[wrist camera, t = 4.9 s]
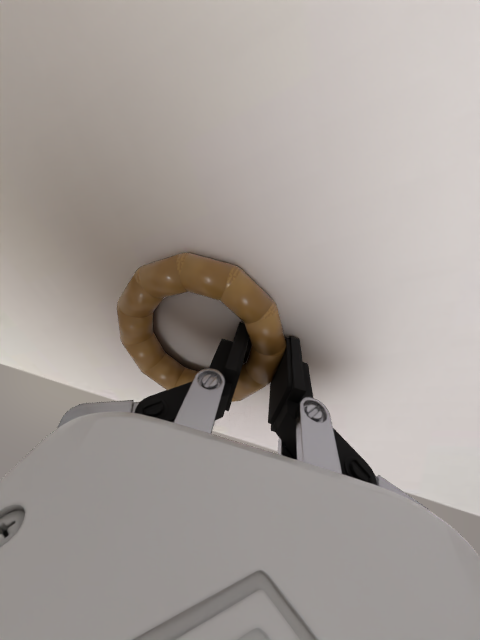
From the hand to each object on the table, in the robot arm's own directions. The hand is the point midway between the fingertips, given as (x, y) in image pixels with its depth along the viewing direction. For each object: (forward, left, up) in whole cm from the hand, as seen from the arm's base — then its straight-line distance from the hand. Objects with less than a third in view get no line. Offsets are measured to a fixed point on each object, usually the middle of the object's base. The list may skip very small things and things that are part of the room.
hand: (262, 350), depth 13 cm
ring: (-4, 0, +1) cm, 4 cm away
